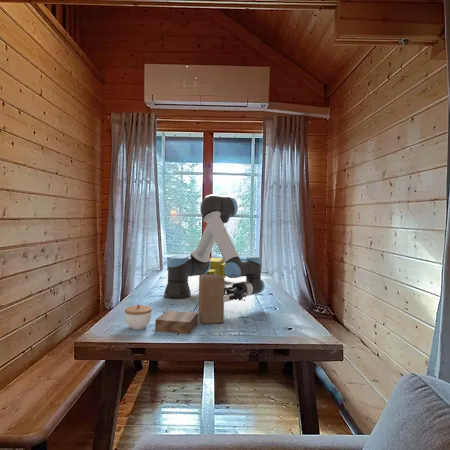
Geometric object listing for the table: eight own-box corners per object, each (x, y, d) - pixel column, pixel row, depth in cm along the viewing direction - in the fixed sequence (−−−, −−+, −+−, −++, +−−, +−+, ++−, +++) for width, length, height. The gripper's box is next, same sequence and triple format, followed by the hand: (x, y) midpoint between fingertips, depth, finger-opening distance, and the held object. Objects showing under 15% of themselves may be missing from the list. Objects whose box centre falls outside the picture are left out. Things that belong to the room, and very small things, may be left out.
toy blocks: (212, 257, 257) (233, 258, 254) (211, 278, 257) (233, 280, 254) (200, 263, 223) (224, 264, 220) (199, 287, 223) (224, 289, 220)
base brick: (155, 332, 137) (155, 319, 137) (166, 321, 151) (167, 310, 151) (189, 334, 135) (189, 322, 134) (197, 324, 148) (198, 312, 148)
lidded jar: (135, 321, 148) (136, 300, 148) (156, 325, 144) (157, 303, 144) (118, 329, 138) (119, 306, 138) (140, 333, 134) (141, 309, 134)
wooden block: (223, 323, 149) (225, 277, 148) (201, 324, 147) (202, 278, 146) (219, 317, 158) (220, 274, 158) (197, 317, 156) (199, 274, 156)
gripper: (262, 301, 160) (233, 310, 144) (222, 293, 177) (192, 299, 161) (262, 285, 160) (234, 292, 144) (222, 278, 176) (192, 283, 160)
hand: (212, 296), depth 152 cm, fingers open, 13 cm apart
